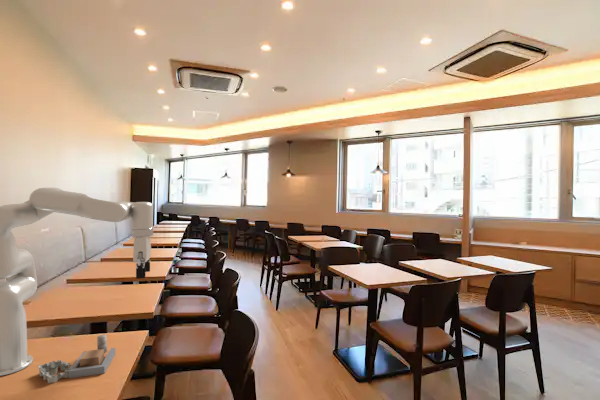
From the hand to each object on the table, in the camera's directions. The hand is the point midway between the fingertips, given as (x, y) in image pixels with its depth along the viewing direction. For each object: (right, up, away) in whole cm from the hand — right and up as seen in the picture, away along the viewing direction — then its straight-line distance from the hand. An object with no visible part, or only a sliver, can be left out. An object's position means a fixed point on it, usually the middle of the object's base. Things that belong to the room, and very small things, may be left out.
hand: (143, 274), depth 127 cm
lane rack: (-14, -32, -9) cm, 36 cm away
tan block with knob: (-15, -31, -6) cm, 35 cm away
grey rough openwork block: (-23, -32, -16) cm, 43 cm away
